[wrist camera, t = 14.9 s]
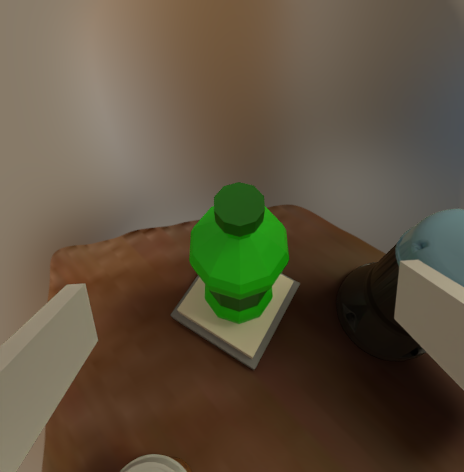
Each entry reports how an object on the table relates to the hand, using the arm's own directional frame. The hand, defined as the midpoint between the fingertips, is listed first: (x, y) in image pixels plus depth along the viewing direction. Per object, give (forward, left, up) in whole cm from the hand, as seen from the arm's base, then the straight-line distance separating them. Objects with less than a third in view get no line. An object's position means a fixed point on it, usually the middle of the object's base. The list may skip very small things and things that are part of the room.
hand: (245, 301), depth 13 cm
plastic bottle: (+6, -9, -33) cm, 35 cm away
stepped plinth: (+6, -9, -37) cm, 39 cm away
